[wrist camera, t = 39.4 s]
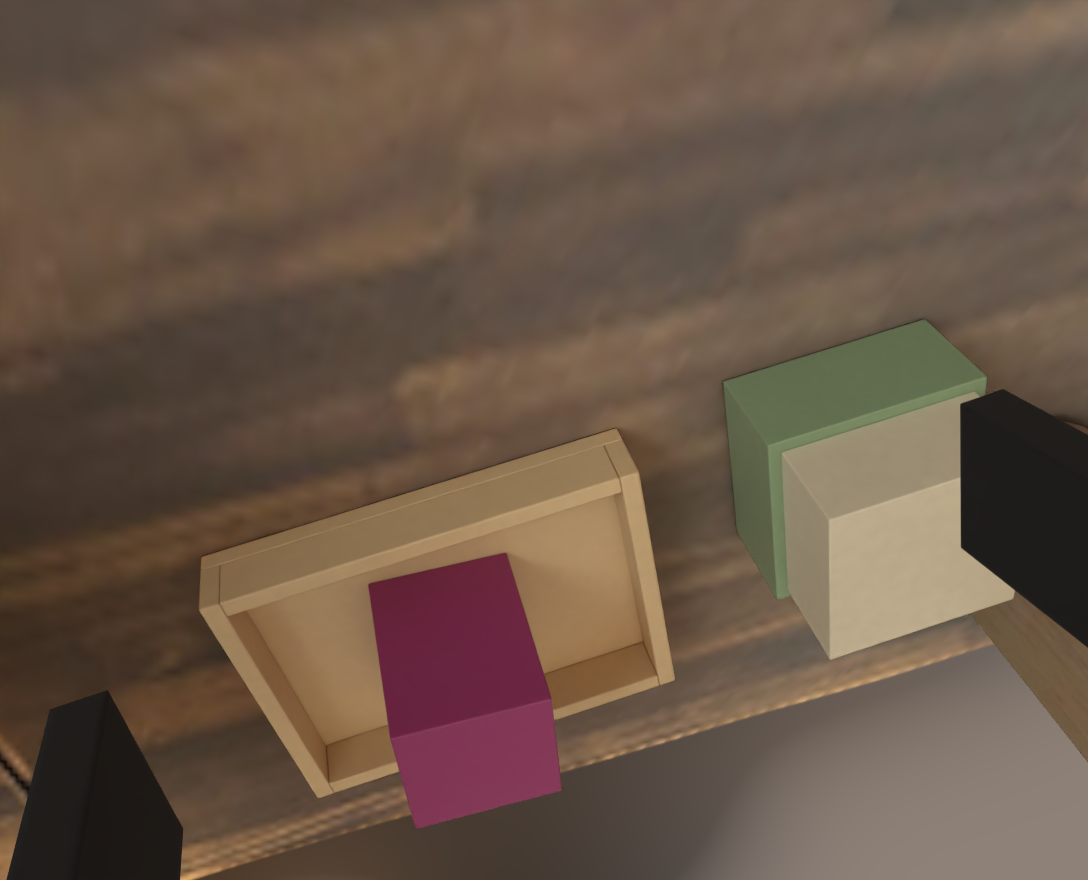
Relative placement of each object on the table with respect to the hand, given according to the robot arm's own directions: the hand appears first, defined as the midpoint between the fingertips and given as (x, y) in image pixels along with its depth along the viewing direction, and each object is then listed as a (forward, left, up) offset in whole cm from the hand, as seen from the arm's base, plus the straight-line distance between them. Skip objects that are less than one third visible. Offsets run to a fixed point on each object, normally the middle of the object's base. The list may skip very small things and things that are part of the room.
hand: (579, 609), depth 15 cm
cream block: (+14, -18, -17) cm, 29 cm away
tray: (-4, -21, -21) cm, 31 cm away
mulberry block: (-4, -21, -21) cm, 30 cm away
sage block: (+14, -18, -21) cm, 32 cm away
